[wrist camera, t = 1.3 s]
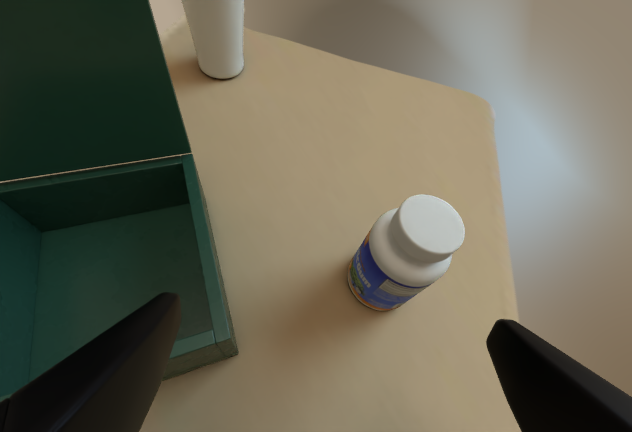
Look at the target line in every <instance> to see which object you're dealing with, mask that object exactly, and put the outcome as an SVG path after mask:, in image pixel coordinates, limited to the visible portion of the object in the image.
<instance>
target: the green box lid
mask: <svg viewBox="0 0 632 432" xmlns="http://www.w3.org/2000/svg"><path fill="white" fill-rule="evenodd" d="M185 153H191V147H190V143H189V140H188V136H187V133H186V129H185V125H184V122H183V118H182V115H181V111H180V108H179V104H178V101H177V97H176V94H175V90H174V87H173V83H172V80H171V76H170V73H169V69H168V66H167V62H166V59H165V55H164V51H163V48H162V44H161V41H160V37H159V34H158V31H157V27H156V23H155V20H154V16H153V13H152V9H151V6H150V2H149V0H0V181H6V180H13V179H20V178H26V177H33V176H39V175H46V174H53V173H59V172H66V171H73V170H79V169H86V168H92V167H99V166H106V165H112V164H119V163H126V162H132V161H139V160H145V159H152V158H159V157H165V156H172V155H179V154H185Z"/></svg>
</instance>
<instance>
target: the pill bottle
mask: <svg viewBox="0 0 632 432" xmlns="http://www.w3.org/2000/svg"><path fill="white" fill-rule="evenodd" d="M464 236H465V230H464V225H463V222H462V219H461V218H460V216H459V214H458V213H457V212H456V210H455V209H454V208H453V207H452V206H451V205H449V204H448V203H447V202H445V201H443V200H442V199H440V198H437V197H435V196H431V195H424V194H421V195H415V196H412V197H410V198H408V199H406V200H405V201H404V202H403V203H402V204H401V206H400V207H399V208H396V209H392V210H390V211H388V212H386V213H384V214H383V215H381V216H380V217H379V218H378V220H377V221H376V222H375V224H374V225H373V227H372V228H371V230H370V231H369V233H368V235H367V236H366V238H365V239H364V241H363V243H362V244H361V246H360V247H359V249H358V250H357V252H356V254H355V255H354V257H353V258H352V260H351V262H350V265H349V268H348V282H349V286H350V288H351V290H352V292H353V294H354V295H355V296H356V298H357V299H358V300H359V301H360V302H362V303H363V304H364V305H366V306H368V307H370V308H372V309H375V310H380V311H387V310H392V309H395V308H398V307H400V306H401V305H402V304H404V303H405V302H407V301H408V300H409V299H411V298H412V297H414V296H415V295H417V294H418V293H419V292H421V291H422V290H424V289H425V288H427V287H428V286H429V285H431V284H432V283H434V282H435V281H436V280H438V279H439V278H440V277H441V276H443V274H444V273H445V272H446V271H447V269H448V267H449V265H450V263H451V258H452V254H453V253H454V252H455V251H456V250H457V249H458V248H459V247H460V246H461V244H462V243H463V240H464Z"/></svg>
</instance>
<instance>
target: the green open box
mask: <svg viewBox="0 0 632 432" xmlns="http://www.w3.org/2000/svg"><path fill="white" fill-rule="evenodd" d="M163 292H169V293H177V294H179V296H180V304H181V323H180V327H179V330H178V333H177V336H176V339H175V342H174V345H173V348H172V351H171V354H170V357H169V360H168V363H167V366H166V369H165V372H164V375H163V378H162V381H164V380H166V379H169V378H172V377H175V376H178V375H181V374H183V373H186V372H189V371H192V370H195V369H198V368H201V367H203V366H206V365H209V364H212V363H215V362H218V361H220V360H223V359H226V358H229V357H232V356H235V355H238V348H237V344H236V339H235V335H234V330H233V325H232V321H231V316H230V311H229V307H228V302H227V298H226V293H225V288H224V284H223V279H222V274H221V270H220V265H219V260H218V256H217V251H216V247H215V242H214V237H213V233H212V228H211V223H210V219H209V214H208V210H207V205H206V200H205V196H204V193H203V189H202V186H201V182H200V179H199V175H198V172H197V169H196V165H195V162H194V158H193V155H192V154H187V155H181V156H174V157H168V158H161V159H155V160H148V161H142V162H135V163H128V164H122V165H115V166H109V167H102V168H96V169H89V170H82V171H76V172H69V173H63V174H56V175H50V176H43V177H36V178H30V179H23V180H17V181H10V182H3V183H0V402H1V401H2V400H4V399H6V398H10V396H11V395H12V394H13V393H15V392H16V391H17V390H19V389H20V388H22V387H23V386H25V385H26V384H28V383H29V382H31V381H32V380H34V379H35V378H37V377H38V376H40V375H41V374H42V373H44V372H45V371H47V370H48V369H50V368H51V367H53V366H54V365H56V364H57V363H59V362H60V361H62V360H63V359H65V358H66V357H68V356H69V355H70V354H72V353H73V352H75V351H76V350H78V349H79V348H81V347H82V346H84V345H85V344H87V343H88V342H90V341H91V340H93V339H94V338H96V337H97V336H98V335H100V334H101V333H103V332H104V331H106V330H107V329H109V328H110V327H112V326H113V325H115V324H116V323H118V322H119V321H121V320H122V319H124V318H125V317H126V316H128V315H129V314H131V313H132V312H134V311H135V310H137V309H138V308H140V307H141V306H143V305H144V304H146V303H147V302H149V301H150V300H151V299H153V298H154V297H156V296H157V295H159V294H160V293H163Z"/></svg>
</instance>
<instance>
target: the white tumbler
mask: <svg viewBox="0 0 632 432" xmlns="http://www.w3.org/2000/svg"><path fill="white" fill-rule="evenodd" d="M182 3H183V7H184V10H185V14H186V18H187V21H188V25H189V28H190V32H191V35H192V39H193V43H194V46H195V50H196V55H197V60H198V64H199V67H200V69H201V70H202V71H203V72H204V73H205V74H207V75H209V76H211V77H214V78H219V79H226V78H232V77H234V76H236V75H238V74H239V73H240V72H241V71H242V69H243V67H244V56H243V30H244V0H182Z"/></svg>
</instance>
